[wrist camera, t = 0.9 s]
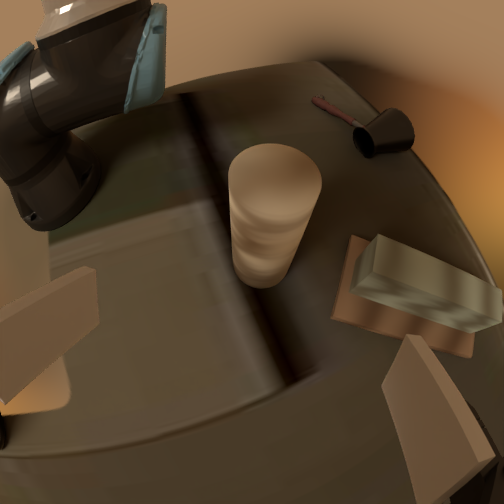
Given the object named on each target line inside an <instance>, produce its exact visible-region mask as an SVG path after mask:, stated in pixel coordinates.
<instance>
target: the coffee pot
mask: <svg viewBox="0 0 504 504" xmlns="http://www.w3.org/2000/svg"><path fill="white" fill-rule="evenodd" d="M318 96H323V95H318ZM318 96H317V97H316V96H315V97H313V98H312V102H313V103H314V104H315V105H316V106H317V107H320V108H321V109H323V110H325V111H326V110H327V112H328V113H329V114H332V115H335V116H337V117H340V118H342V119H343V120H345V121H346V122H347V123H349V124H350V125H351V126H355V127H356V128H355V129H354V131H353V140H354V144H355V146H356V148H357V149H358V150H359V151H360V152H361V153H362V154H363V155H364V157H366V158H371V157H372V156H373V155H374V154H375V153H376V152H393V151H407V150H408V149H410V148H411V147H412V145H413V143H414V138H415V134H414V128H413V126H412V123H411V122H410V120H409V118H408V117H407V116H406V115H405V114H404V113H403V112H402V111H400V110H398V109H396V108H389V109H386V110H384V111H383V112H382V113H381V114H379V115H378V116H377V117H376V118H375V119H374V120H372V121H371V122H370V123H369V124H368V125H366V126H365V125H364V126H363V125H362V124H360V123H359V122H357V121H356V119H354V118H352V117H350V116H348V115H346V114H344V113H343V112H341V111H340V110H339V109H338V108H336V107H335V106H334V105H330V104H329V103H328V102H327V101H325V100H324V96H323V99H322V98H319V97H318Z"/></svg>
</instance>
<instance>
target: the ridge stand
mask: <svg viewBox="0 0 504 504" xmlns="http://www.w3.org/2000/svg"><path fill="white" fill-rule="evenodd" d="M330 318H331V319H334V320H337V321H340V322H343V323H346V324H349V325H353V326H356V327H359V328H362V329H365V330H369V331H372V332H375V333H379V334H382V335H385V336H389V337H392V338H395V339H399V340H402V341H403V340H404V338H405V335H406V334H411V335H420V336H421V337H422V338H423V339H424V341H425V342H426V344H427V345H428V346H429V348H430V349H434V350H438V351H441V352H445V353H449V354H453V355H456V356H460V357H464V358H470V357H472V353H473V345H474V336H475V332H476V331H479V330H482V329H485V328H488V327H490V326H493V325H496V324H498V323H501V322H502V290H500V289H499V288H497V287H495V286H493V285H491V284H489V283H487V282H485V281H483V280H481V279H479V278H477V277H475V276H473V275H471V274H469V273H467V272H465V271H462V270H460V269H458V268H456V267H454V266H452V265H450V264H448V263H445V262H443V261H441V260H439V259H437V258H434V257H432V256H430V255H428V254H425V253H423V252H421V251H418V250H416V249H414V248H411V247H409V246H407V245H404V244H402V243H400V242H397V241H395V240H392V239H390V238H387V237H385V236H382V235H380V234H378V235H377V236H376V237H375V238H374V239H373V240H372V242H370V241H367V240H365V239H362V238H360V237H357V236H354V235H351V237H350V238H349V242H348V247H347V251H346V256H345V261H344V265H343V269H342V274H341V278H340V282H339V286H338V290H337V294H336V298H335V302H334V306H333V310H332V313H331V317H330Z"/></svg>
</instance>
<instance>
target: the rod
mask: <svg viewBox="0 0 504 504" xmlns="http://www.w3.org/2000/svg"><path fill="white" fill-rule="evenodd" d="M228 178H229V199H230V218H231V236H232V254H233V267H234V270H235V273H236V274H237V276H238V277H239V279H240V280H241V281H242V282H244V283H245V284H247V285H249V286H251V287H254V288H269V287H272V286H274V285H276V284H278V283H279V282H280V281H282V279H283V278H284V277H285V275H286V273H287V271H288V269H289V267H290V264H291V262H292V260H293V257H294V255H295V252H296V250H297V248H298V245H299V243H300V241H301V238H302V236H303V233H304V231H305V229H306V226H307V224H308V221H309V219H310V216H311V214H312V211H313V209H314V206H315V204H316V201H317V199H318V196H319V194H320V191H321V187H322V178H321V174H320V171H319V169H318V167H317V166H316V164H315V163H314V162H313V161H312V160H311V159H310V158H309V157H308V156H307V155H305V154H304V153H302V152H301V151H299V150H297V149H295V148H292V147H289V146H286V145H281V144H272V143H271V144H260V145H255V146H252V147H250V148H248V149H246V150H244V151H242V152H241V153H240V154H238V155H237V156H236V157H235V159H234V160H233V161H232V163H231V165H230V168H229V174H228Z"/></svg>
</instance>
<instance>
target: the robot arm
mask: <svg viewBox="0 0 504 504" xmlns="http://www.w3.org/2000/svg"><path fill="white" fill-rule="evenodd" d="M41 1H42V5H43V9H44V13H45V17H44V20H43V22H42V24H41V26H40V28H39V30H38V32H37V34H36V36H35V38H36V41H37V44H38V47H39V48H37V49H36V50H34V48H35V47H34V45H32V43H31V42H25V43H24V44H22V45H21V46H19V47H18V48H17V49H15V50H14V51H13V52H12V53H10V54H9V55H8V56H7V57H6V58H5V59H3V60H2V61H1V62H0V177H1V178H2V179H3V181H4V182H5V183H6V184H7V185H8V187H9V189H10V191H11V194H12V197H13V199H14V202H15V204H16V207H17V209H18V211H19V214H20V216H21V218H22V219H23V220H24V221H25V222H26V223H27V224H28V225H29V226H30V227H31V228H32V229H34V230H36V231H50V230H53V229H56V228H58V227H60V226H62V225H64V224H65V223H67V222H68V221H70V220H71V219H72V218H73V217H75V216H76V215H77V214H78V213H79V212H80V211H81V210H82V209H83V208H84V206H85V205H86V204H87V203H88V201H89V200H90V198H91V197H92V195H93V194H94V192H95V190H96V188H97V185H98V183H99V180H100V175H101V166H100V162H99V160H98V158H97V156H96V155H95V153H94V151H93V150H92V149H91V148H90V147H89V146H88V145H87V144H86V143H84V142H83V141H82V140H81V139H80V138H78V137H77V136H76V135H75V134H74V133H72V132H71V131H70V130H73V129H75V128H78V127H81V126H83V125H86V124H89V123H92V122H95V121H98V120H101V119H104V118H107V117H110V116H114V115H117V114H120V113H124V114H127V113H128V112H129V111H131V110H134V109H137V108H140V107H144V106H147V105H151V104H153V103H155V102H157V101H158V100H159V99H160V98H161V97H162V95H163V93H164V90H165V63H166V23H167V21H166V15H167V6H166V5H165V4H159V3H154V4H153V5H151V1H150V0H41ZM99 324H100V321H99V311H98V299H97V282H96V269H93V268H89V267H86V266H82V267H80V268H78V269H76V270H74V271H72V272H69V273H67V274H65V275H63V276H61V277H59V278H57V279H55V280H53V281H51V282H49V283H47V284H45V285H43V286H41V287H39V288H37V289H35V290H34V291H31V292H30V293H28V294H26V295H24V296H22V297H20V298H18V299H17V300H14V301H13V302H11V303H9V304H7V305H5V306H4V307H2V308H0V401H1V402H3V403H4V404H5V405H6V404H7V403H8V402H9V401H10V400H11V399H12V398H13V397H15V396H16V395H17V394H18V393H19V392H20V391H21V390H22V389H24V388H25V387H26V386H27V385H28V384H29V383H30V382H31V381H33V380H34V379H35V378H36V377H37V376H38V375H39V374H40V373H42V372H43V371H44V370H45V369H46V368H47V367H49V365H51V364H52V363H53V362H54V361H56V360H57V359H58V358H59V357H60V356H61V355H63V354H64V353H65V352H66V351H67V350H69V349H70V348H71V347H72V346H73V345H75V344H76V343H77V342H78V341H79V340H81V339H82V338H83V337H84V336H85V335H87V334H88V333H89V332H90V331H92V330H93V329H94V328H95V327H96V326H98V325H99ZM381 387H382V390H383V392H384V395H385V398H386V401H387V404H388V407H389V409H390V412H391V415H392V418H393V421H394V424H395V427H396V431H397V434H398V437H399V440H400V443H401V447H402V450H403V453H404V457H405V460H406V464H407V467H408V471H409V475H410V478H411V482H412V486H413V490H414V494H415V498H416V503H417V504H442V503H443V502H444V501H446V500H447V499H448V498H450V501H451V503H450V504H504V457H503V458H502V456H501V455H500V453H499V451H498V449H497V447H496V445H495V443H494V442H493V440H492V438H491V436H490V434H489V432H488V431H487V429H486V428H484V427H485V425H484V424H483V422H482V420H480V417H479V415H478V414H477V412H476V410H475V409H474V408H473V407H472V406H471V405H470V404H469V403H468V402H467V401H466V400H464V399H463V397H462V395H461V394H460V392H459V391H458V389H457V387H456V386H455V384H454V383H453V381H452V380H451V378H450V377H449V375H448V374H447V372H446V371H445V369H444V368H443V366H442V365H441V363H440V362H439V360H438V359H437V358H436V356H435V355H434V353H433V352H432V350H431V349H430V348H429V346H428V345H427V344H426V342H425V341H424V339H423V338H422V337H421V336H420V335H411V334H406V335H405V338H404V340H403V342H402V345H401V347H400V349H399V351H398V353H397V355H396V357H395V360H394V362H393V364H392V366H391V368H390V370H389V372H388V374H387V376H386V377H385V379H384V381H383V383H382V385H381Z"/></svg>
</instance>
